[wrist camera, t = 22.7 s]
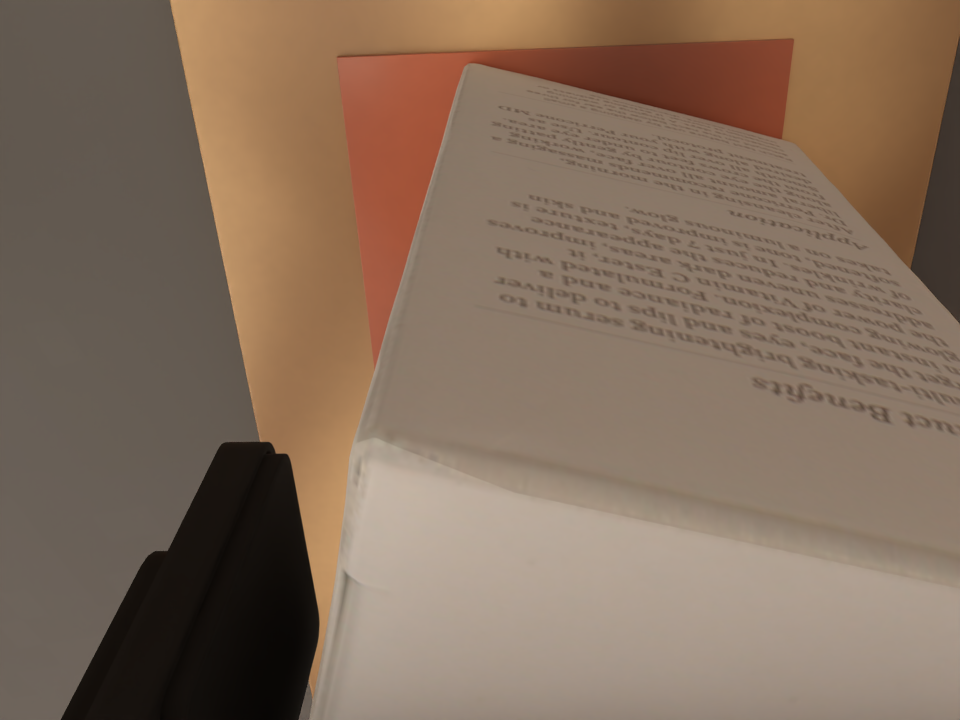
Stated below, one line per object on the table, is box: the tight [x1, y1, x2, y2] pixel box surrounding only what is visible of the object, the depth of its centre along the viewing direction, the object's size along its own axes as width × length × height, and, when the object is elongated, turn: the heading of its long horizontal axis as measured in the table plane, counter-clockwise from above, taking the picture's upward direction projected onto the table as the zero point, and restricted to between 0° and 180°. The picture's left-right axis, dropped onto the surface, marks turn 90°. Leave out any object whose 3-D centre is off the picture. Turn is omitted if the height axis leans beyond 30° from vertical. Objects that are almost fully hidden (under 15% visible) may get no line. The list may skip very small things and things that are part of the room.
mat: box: [170, 0, 960, 698], centre depth 18 cm, size 12×20×1 cm, turn 3°
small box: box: [309, 63, 960, 720], centre depth 12 cm, size 8×6×10 cm
